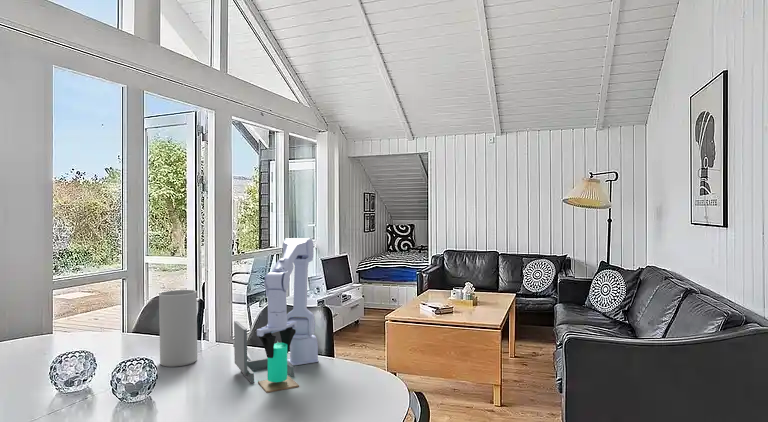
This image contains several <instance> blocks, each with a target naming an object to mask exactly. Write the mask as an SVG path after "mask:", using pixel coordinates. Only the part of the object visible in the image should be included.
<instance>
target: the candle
mask: <svg viewBox="0 0 768 422" xmlns="http://www.w3.org/2000/svg"><path fill="white" fill-rule="evenodd" d="M267 358H268V357H267ZM287 359H288V353H287V344H286V343H282V342H279V341H278V340H277V342H276V343H274V354H273V358H268V368H267V380H268V381H270V382H282V381H285V380H286V379H287V376H288V373H287Z"/></svg>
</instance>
